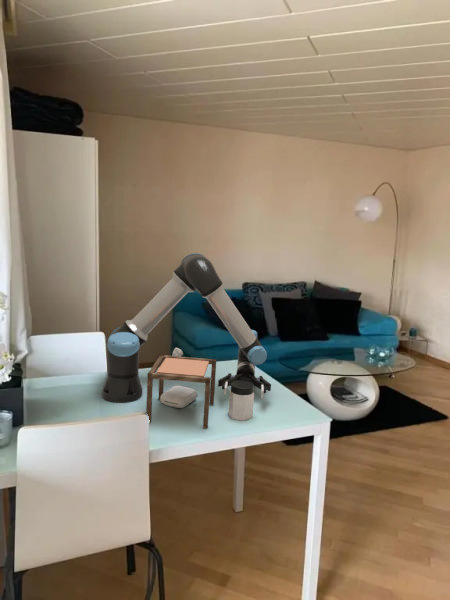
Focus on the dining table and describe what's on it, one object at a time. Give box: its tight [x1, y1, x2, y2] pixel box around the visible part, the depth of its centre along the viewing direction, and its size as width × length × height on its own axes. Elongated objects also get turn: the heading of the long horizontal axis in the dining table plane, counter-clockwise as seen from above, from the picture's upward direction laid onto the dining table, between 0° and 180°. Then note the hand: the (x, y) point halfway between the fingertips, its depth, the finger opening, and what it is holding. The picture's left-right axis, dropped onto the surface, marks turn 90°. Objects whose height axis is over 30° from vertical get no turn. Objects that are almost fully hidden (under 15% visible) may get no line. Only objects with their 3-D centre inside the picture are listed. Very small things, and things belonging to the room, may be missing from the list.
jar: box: [227, 380, 255, 422], centre depth 173 cm, size 9×8×12 cm
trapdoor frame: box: [145, 354, 217, 429], centre depth 172 cm, size 21×21×18 cm
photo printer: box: [159, 385, 198, 409], centre depth 181 cm, size 10×4×12 cm
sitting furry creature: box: [171, 347, 184, 357], centre depth 211 cm, size 10×9×12 cm
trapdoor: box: [156, 358, 210, 377], centre depth 170 cm, size 16×16×1 cm
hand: (243, 392), depth 177 cm, fingers open, 13 cm apart
